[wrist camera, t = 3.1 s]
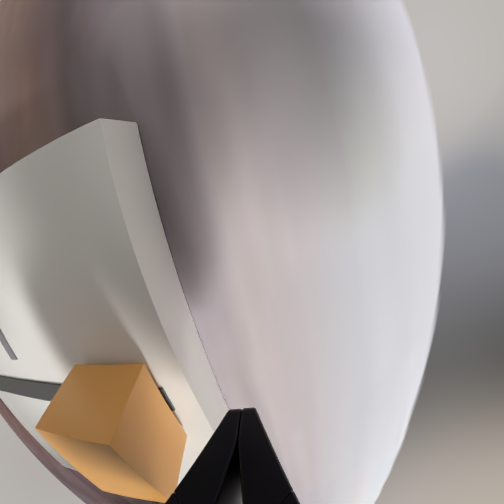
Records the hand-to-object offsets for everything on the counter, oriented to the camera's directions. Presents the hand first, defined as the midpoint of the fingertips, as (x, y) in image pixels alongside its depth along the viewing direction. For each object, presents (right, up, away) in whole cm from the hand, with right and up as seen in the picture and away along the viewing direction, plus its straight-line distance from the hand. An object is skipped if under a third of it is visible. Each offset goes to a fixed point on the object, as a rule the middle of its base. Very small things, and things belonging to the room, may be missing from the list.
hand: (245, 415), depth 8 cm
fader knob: (-4, 0, +1) cm, 4 cm away
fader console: (-9, 0, +4) cm, 9 cm away
